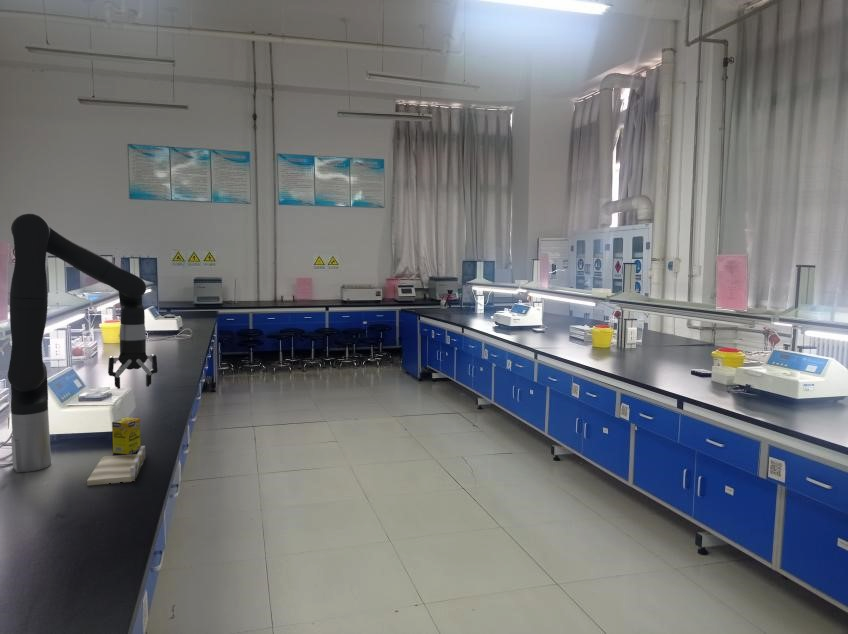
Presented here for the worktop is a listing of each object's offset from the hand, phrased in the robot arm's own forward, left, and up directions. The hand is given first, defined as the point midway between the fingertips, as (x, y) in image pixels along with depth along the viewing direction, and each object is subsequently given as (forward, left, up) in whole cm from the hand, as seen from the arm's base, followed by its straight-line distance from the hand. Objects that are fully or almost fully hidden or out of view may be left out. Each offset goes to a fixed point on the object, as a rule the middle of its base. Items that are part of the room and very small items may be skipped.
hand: (133, 387), depth 193 cm
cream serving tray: (-10, -16, -21) cm, 28 cm away
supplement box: (-3, -1, -21) cm, 21 cm away
